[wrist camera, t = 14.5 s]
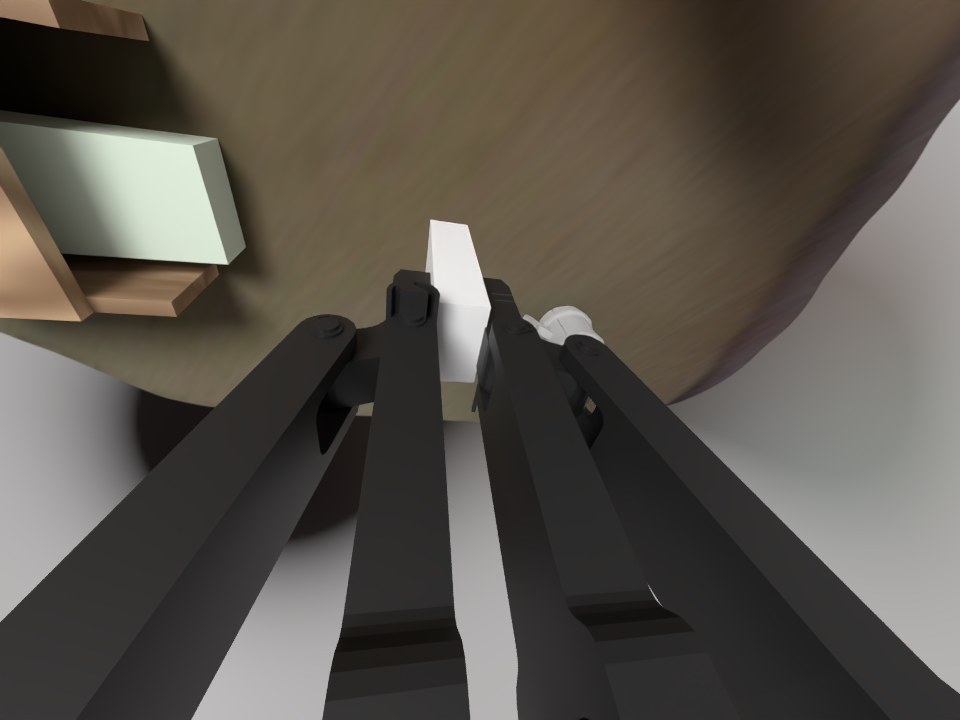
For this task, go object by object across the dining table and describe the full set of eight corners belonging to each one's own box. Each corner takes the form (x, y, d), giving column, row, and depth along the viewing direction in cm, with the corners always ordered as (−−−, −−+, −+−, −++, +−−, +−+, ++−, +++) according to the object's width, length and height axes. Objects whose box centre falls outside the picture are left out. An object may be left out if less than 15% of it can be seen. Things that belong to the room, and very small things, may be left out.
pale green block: (-64, 101, 28) (-151, 104, 24) (219, 137, 32) (189, 146, 28) (16, 228, 34) (-42, 249, 30) (247, 245, 38) (225, 267, 34)
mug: (567, 354, 54) (599, 411, 45) (499, 331, 49) (519, 389, 40) (597, 313, 50) (639, 367, 41) (527, 284, 46) (556, 337, 36)
